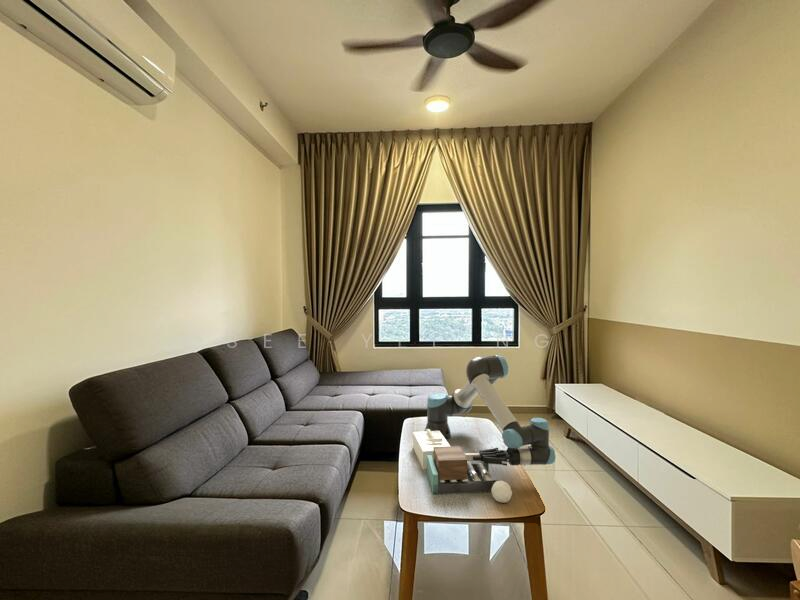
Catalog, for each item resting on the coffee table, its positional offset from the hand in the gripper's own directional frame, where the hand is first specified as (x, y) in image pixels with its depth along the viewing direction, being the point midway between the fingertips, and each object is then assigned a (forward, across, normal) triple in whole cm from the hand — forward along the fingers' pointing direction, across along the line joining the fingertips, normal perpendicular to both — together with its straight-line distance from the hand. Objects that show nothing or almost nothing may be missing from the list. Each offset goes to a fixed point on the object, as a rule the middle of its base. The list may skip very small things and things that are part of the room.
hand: (464, 457), depth 159 cm
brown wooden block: (+7, 0, -6) cm, 9 cm away
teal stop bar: (+14, 0, -11) cm, 18 cm away
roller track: (+1, 0, -11) cm, 11 cm away
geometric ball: (-11, -16, -11) cm, 22 cm away
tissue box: (+11, +26, -11) cm, 30 cm away
